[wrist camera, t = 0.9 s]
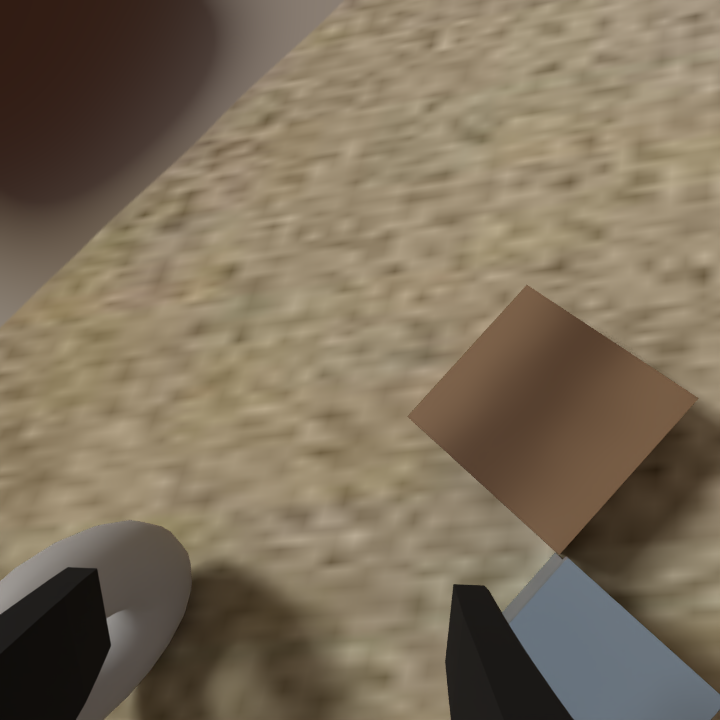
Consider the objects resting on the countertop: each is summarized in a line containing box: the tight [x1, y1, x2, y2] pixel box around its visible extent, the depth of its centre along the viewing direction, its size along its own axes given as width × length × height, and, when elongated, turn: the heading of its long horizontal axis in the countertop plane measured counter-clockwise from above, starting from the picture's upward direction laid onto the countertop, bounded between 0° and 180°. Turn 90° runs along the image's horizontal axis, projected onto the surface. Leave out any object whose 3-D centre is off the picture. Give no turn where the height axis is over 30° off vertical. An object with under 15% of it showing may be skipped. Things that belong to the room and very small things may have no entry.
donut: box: [0, 520, 192, 720], centre depth 19 cm, size 10×4×10 cm, turn 147°
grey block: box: [502, 553, 720, 720], centre depth 16 cm, size 5×5×6 cm
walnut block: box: [408, 285, 698, 554], centre depth 20 cm, size 8×8×3 cm
